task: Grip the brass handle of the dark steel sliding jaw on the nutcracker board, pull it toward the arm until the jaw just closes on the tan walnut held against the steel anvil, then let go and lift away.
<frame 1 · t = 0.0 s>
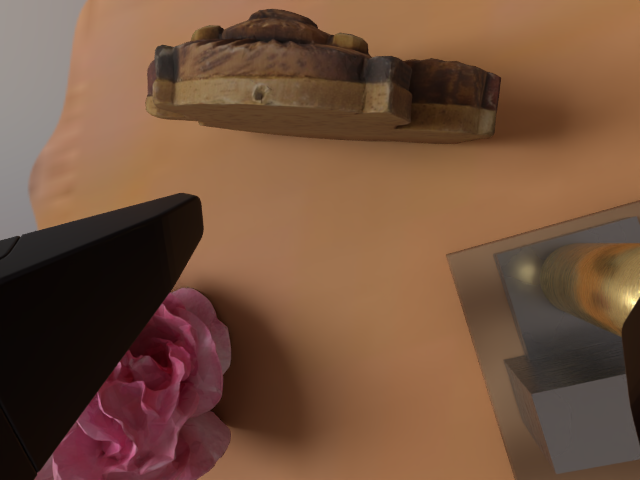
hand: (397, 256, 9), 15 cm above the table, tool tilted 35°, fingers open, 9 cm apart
cracker base: (616, 451, 22), on the table
sliding jaw: (635, 340, 16), point 6 cm above the table, slide at 0.0 cm
wooden carving: (328, 121, 25), on the table
flower: (172, 357, 27), on the table
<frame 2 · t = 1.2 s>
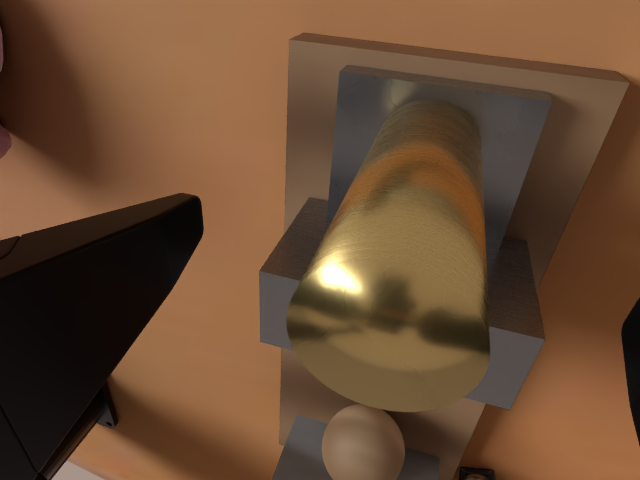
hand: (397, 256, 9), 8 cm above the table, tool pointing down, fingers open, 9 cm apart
cracker base: (393, 309, 21), on the table
sliding jaw: (400, 270, 12), point 6 cm above the table, slide at 0.0 cm
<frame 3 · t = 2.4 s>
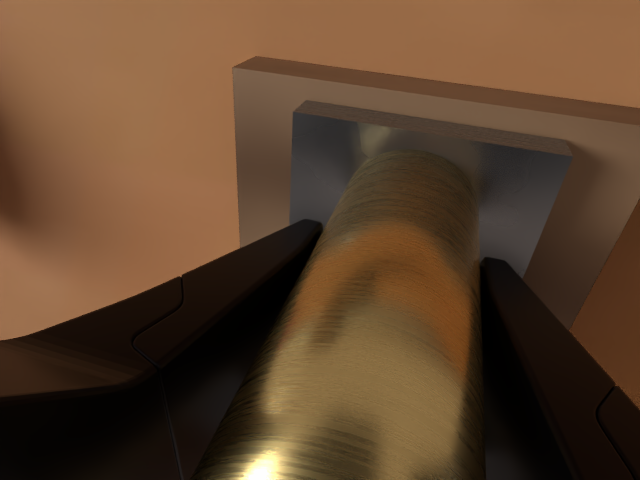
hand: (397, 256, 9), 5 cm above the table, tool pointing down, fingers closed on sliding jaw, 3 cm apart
cracker base: (375, 374, 18), on the table
sliding jaw: (368, 387, 9), point 6 cm above the table, slide at 0.0 cm, touching gripper
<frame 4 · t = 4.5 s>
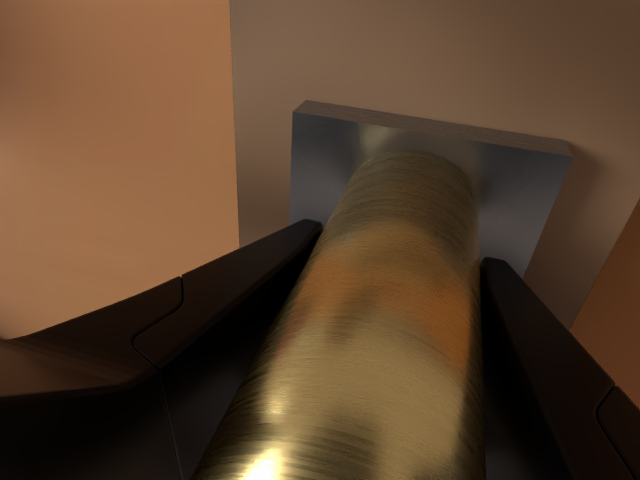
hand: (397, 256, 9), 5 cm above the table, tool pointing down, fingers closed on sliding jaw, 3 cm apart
cracker base: (402, 243, 14), on the table
sliding jaw: (368, 387, 9), point 6 cm above the table, slide at 6.4 cm, touching gripper
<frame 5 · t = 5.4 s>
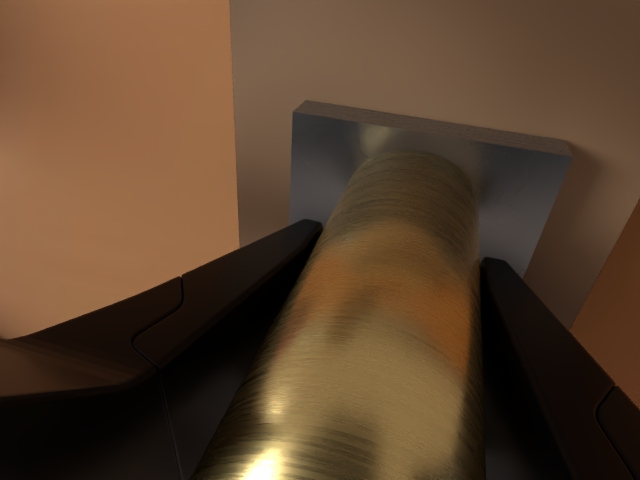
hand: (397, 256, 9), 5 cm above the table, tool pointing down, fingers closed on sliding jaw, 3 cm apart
cracker base: (403, 242, 14), on the table
sliding jaw: (368, 387, 9), point 6 cm above the table, slide at 6.5 cm, touching gripper
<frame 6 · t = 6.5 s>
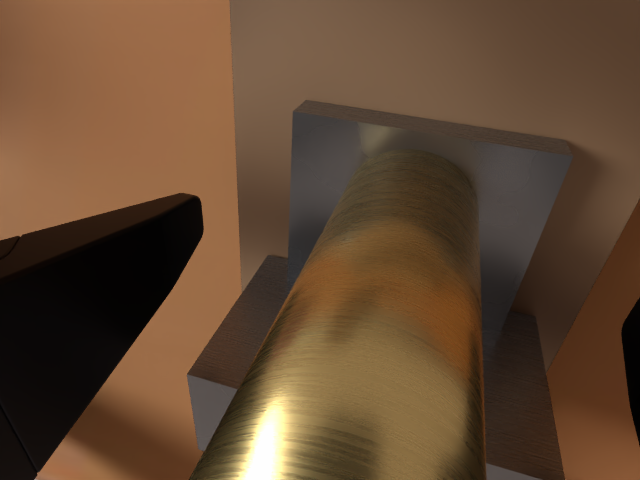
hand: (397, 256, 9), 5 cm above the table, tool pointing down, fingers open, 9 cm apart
cracker base: (403, 242, 14), on the table
sliding jaw: (368, 387, 9), point 6 cm above the table, slide at 6.5 cm
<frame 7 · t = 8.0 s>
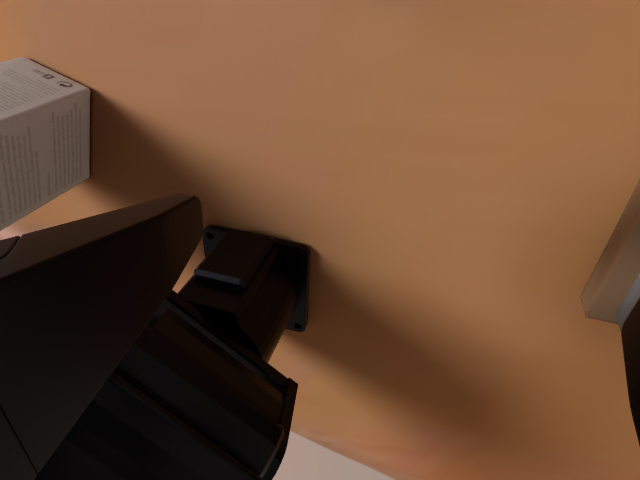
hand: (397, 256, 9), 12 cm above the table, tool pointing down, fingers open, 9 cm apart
skincare box: (62, 120, 25), on the table
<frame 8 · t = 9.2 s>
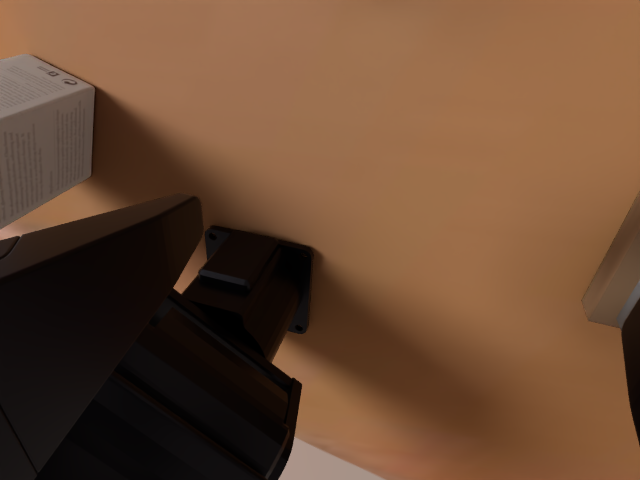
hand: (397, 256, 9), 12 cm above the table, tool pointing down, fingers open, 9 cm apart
skincare box: (64, 118, 25), on the table
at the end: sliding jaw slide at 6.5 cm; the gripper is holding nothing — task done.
